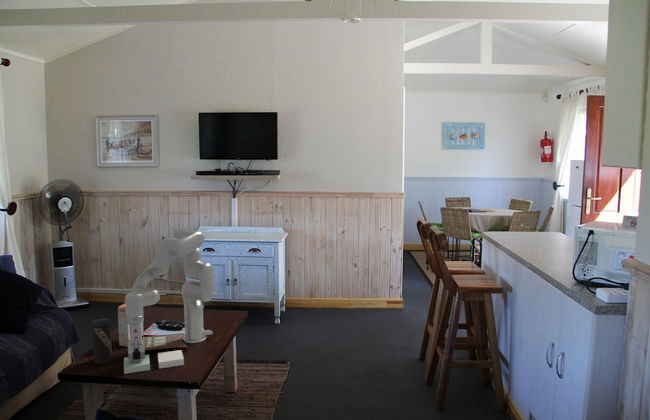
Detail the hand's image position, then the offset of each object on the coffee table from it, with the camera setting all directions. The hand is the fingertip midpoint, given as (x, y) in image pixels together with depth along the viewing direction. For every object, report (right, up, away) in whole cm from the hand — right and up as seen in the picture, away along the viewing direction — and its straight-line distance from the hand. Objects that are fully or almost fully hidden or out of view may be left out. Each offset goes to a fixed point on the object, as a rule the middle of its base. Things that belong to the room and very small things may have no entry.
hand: (136, 356), depth 231 cm
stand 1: (0, -5, +1) cm, 5 cm away
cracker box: (-14, -1, +30) cm, 33 cm away
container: (-19, -4, +7) cm, 21 cm away
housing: (0, -1, 0) cm, 1 cm away
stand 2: (+14, -5, +6) cm, 16 cm away
